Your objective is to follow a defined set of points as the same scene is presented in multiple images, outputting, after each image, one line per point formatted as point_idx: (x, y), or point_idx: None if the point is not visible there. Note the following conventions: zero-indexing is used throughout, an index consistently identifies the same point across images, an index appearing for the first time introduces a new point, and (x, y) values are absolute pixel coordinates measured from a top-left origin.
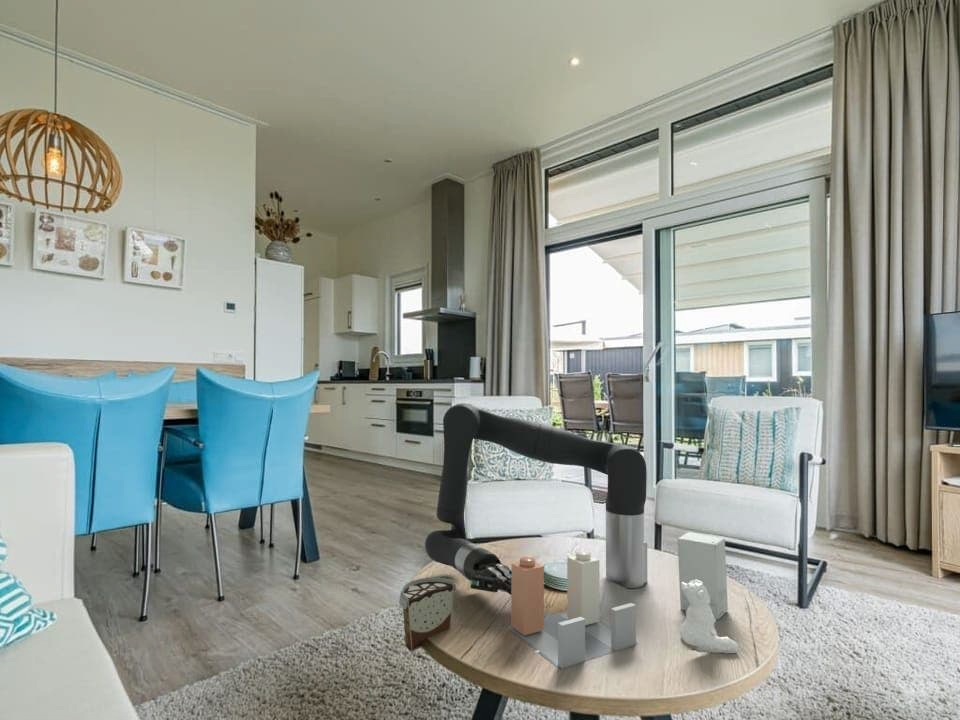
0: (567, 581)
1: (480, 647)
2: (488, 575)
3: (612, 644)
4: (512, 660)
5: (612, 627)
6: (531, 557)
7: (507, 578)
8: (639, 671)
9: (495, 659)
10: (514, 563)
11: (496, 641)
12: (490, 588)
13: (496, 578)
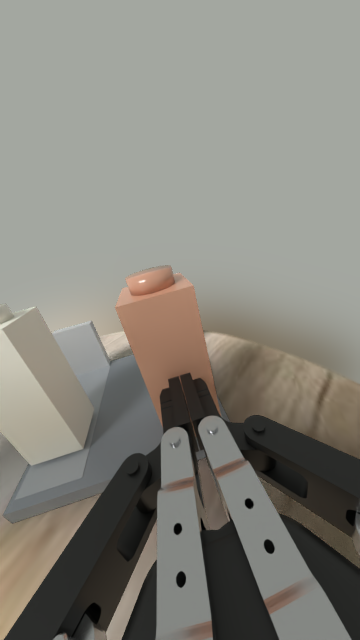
0: (41, 387)
1: (297, 399)
2: (308, 535)
3: (107, 360)
4: (238, 366)
5: (99, 343)
6: (127, 279)
7: (190, 449)
8: (114, 351)
9: (265, 369)
10: (185, 285)
11: (263, 416)
12: (284, 465)
13: (249, 436)
